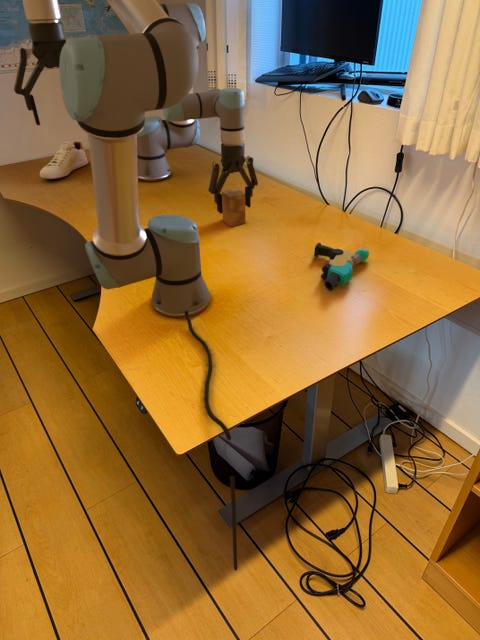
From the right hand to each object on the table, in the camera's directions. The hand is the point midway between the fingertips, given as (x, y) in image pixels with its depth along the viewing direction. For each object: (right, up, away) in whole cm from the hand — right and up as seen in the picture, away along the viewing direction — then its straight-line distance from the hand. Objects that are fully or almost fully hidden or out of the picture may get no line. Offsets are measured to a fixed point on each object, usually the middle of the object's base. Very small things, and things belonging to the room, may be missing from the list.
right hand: (66, 120), depth 120 cm
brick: (+42, -16, +47) cm, 65 cm away
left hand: (+42, -12, +44) cm, 62 cm away
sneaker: (-34, +15, +91) cm, 98 cm away
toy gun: (+71, -36, +18) cm, 81 cm away
